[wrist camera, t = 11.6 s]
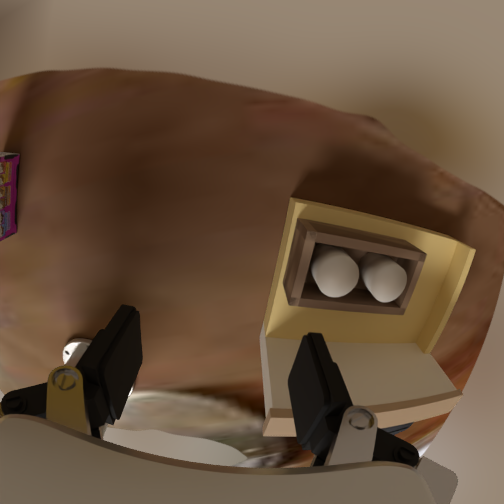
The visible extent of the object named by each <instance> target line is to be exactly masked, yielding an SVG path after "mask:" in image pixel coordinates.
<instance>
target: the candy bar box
mask: <svg viewBox="0 0 504 504" xmlns="http://www.w3.org/2000/svg"><path fill="white" fill-rule="evenodd" d="M19 157H20V154H16V153H7V152H0V241H2V240H3V239H5V238H7V237H9V236H11V235H13V234H15V233H16V232H17V217H16V205H17V179H18V166H19Z"/></svg>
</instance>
